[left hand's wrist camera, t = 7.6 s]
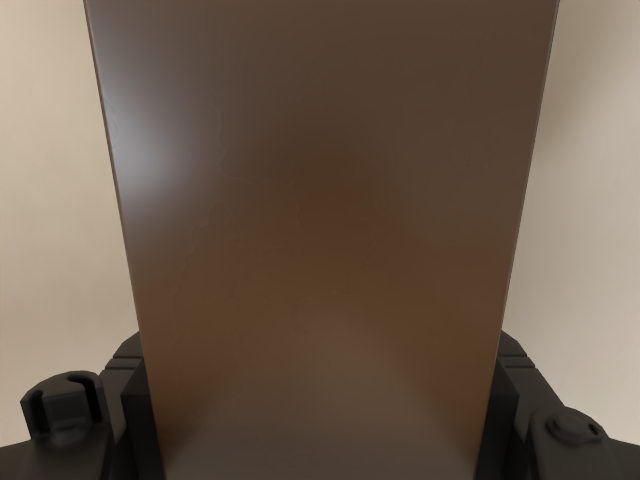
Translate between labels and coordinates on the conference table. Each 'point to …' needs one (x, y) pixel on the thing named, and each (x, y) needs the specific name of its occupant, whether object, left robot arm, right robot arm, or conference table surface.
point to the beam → (320, 223)
